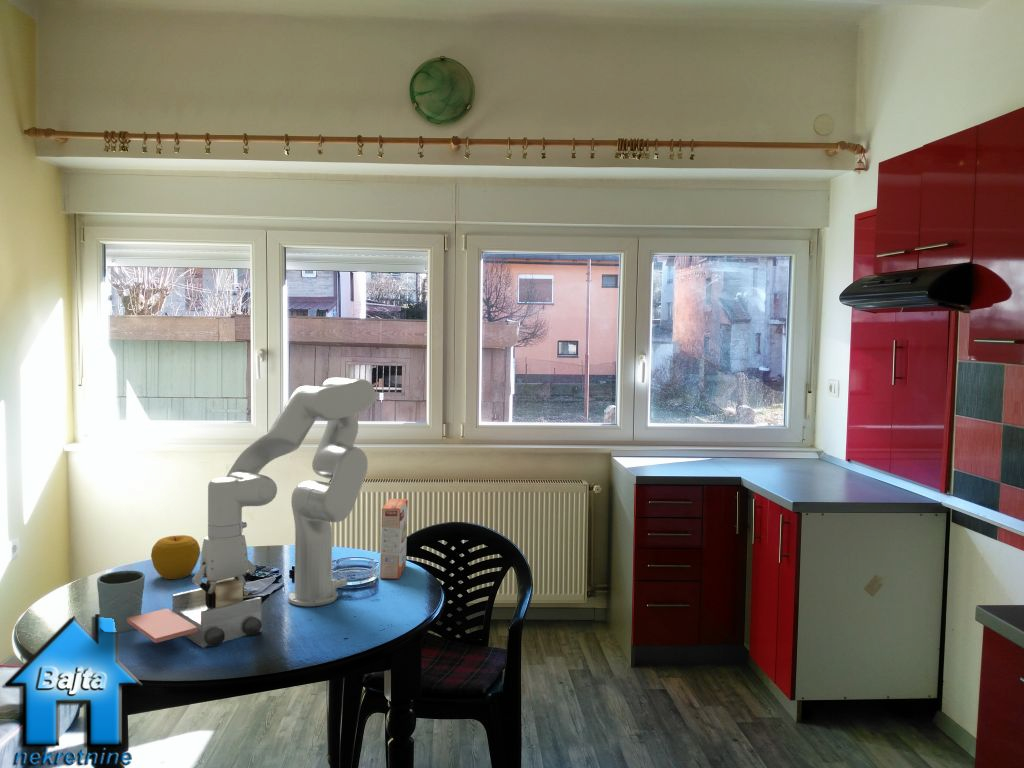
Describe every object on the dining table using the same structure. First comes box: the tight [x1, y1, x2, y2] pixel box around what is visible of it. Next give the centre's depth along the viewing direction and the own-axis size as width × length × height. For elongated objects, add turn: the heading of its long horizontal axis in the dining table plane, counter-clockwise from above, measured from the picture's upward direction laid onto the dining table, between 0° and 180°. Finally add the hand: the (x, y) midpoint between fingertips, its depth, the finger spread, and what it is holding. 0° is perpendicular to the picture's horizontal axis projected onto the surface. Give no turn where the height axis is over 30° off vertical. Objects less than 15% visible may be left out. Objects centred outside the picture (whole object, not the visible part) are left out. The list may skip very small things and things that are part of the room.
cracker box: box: [379, 498, 409, 580], centre depth 225 cm, size 14×6×21 cm, turn 179°
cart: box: [172, 587, 263, 648], centre depth 179 cm, size 14×18×8 cm
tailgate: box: [127, 608, 197, 644], centre depth 170 cm, size 1×16×9 cm
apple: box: [150, 534, 201, 580], centre depth 217 cm, size 13×13×11 cm
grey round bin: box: [96, 570, 146, 633], centre depth 179 cm, size 10×10×12 cm
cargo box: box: [214, 577, 244, 608], centre depth 180 cm, size 6×6×6 cm
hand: (224, 604), depth 180 cm, fingers closed on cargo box, 6 cm apart
